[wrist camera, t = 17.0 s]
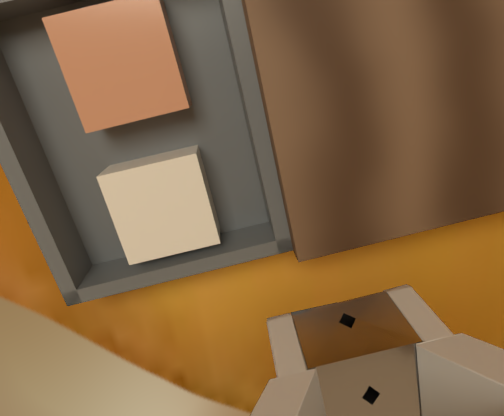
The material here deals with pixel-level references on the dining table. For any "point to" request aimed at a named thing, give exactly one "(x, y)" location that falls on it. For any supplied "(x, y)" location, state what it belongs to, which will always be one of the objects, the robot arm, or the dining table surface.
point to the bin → (136, 149)
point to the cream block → (161, 204)
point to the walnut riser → (381, 114)
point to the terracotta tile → (119, 62)
